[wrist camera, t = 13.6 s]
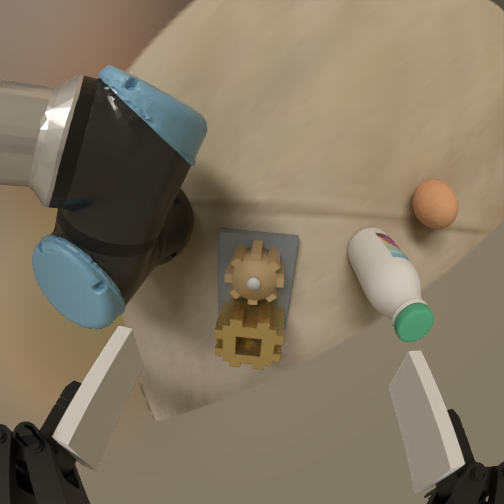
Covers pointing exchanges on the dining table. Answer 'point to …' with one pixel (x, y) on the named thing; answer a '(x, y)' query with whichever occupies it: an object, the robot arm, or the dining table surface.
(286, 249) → the gear board
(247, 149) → the dining table surface
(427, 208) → the egg
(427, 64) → the dining table surface
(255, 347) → the gear
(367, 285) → the milk bottle
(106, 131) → the robot arm
